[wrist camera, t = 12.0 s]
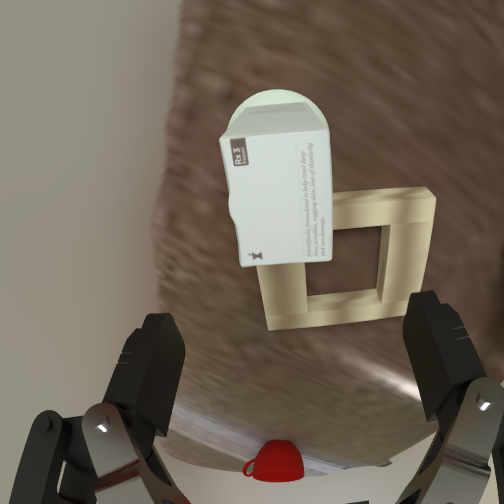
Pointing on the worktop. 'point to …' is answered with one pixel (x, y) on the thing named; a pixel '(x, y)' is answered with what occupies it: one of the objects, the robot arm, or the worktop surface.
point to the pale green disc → (277, 102)
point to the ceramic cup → (277, 463)
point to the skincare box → (280, 184)
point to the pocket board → (389, 268)
